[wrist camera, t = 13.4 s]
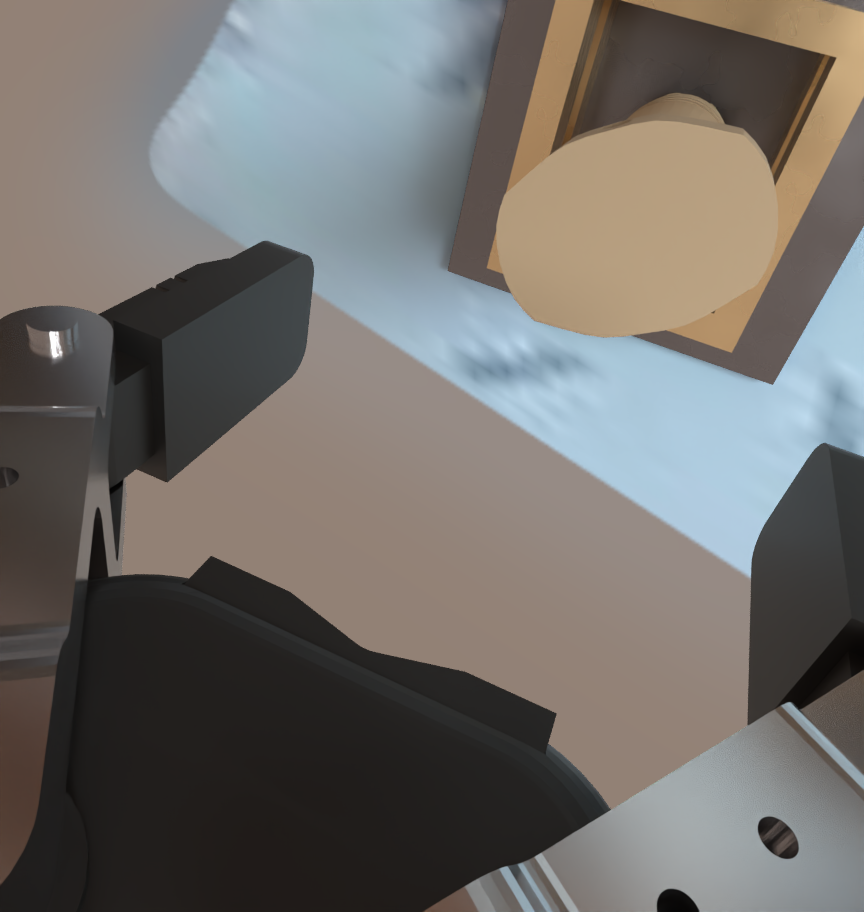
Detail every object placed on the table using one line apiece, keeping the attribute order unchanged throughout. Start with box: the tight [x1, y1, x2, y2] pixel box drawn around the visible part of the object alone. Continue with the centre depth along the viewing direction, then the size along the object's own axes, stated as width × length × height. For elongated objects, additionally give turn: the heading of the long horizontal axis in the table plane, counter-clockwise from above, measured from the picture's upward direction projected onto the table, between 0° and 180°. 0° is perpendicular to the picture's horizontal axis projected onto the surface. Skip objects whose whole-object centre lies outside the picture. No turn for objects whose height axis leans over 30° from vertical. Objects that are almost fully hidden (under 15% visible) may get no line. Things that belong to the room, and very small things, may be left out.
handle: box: [496, 93, 778, 337], centre depth 23 cm, size 5×6×15 cm
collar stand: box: [448, 0, 864, 385], centre depth 27 cm, size 17×16×6 cm
